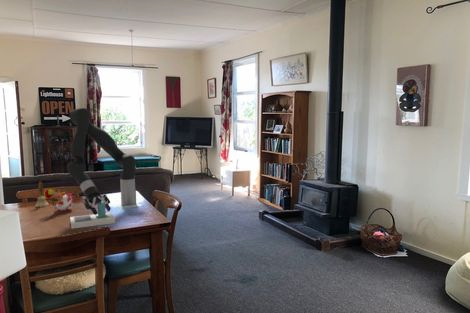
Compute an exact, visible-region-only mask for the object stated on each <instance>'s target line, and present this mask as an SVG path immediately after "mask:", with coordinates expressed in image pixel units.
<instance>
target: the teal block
mask: <svg viewBox="0 0 470 313" xmlns="http://www.w3.org/2000/svg"><path fill="white" fill-rule="evenodd" d="M97 212H98V213H97V214H98V219H99V218H106V213H107V212H106V208H105V203H98V204H97Z"/></svg>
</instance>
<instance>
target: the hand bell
mask: <svg viewBox="0 0 470 313" xmlns="http://www.w3.org/2000/svg"><path fill="white" fill-rule="evenodd" d="M37 186H38V190H39V197H37V201H36V204H35V205H34V207H36V208H44V207H48V206H49V205H50V204H49V203H48V201H47V199H46V198H45V196H44V192H43V188H44V185H43V183H42V181H39V182H38V185H37Z"/></svg>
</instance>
